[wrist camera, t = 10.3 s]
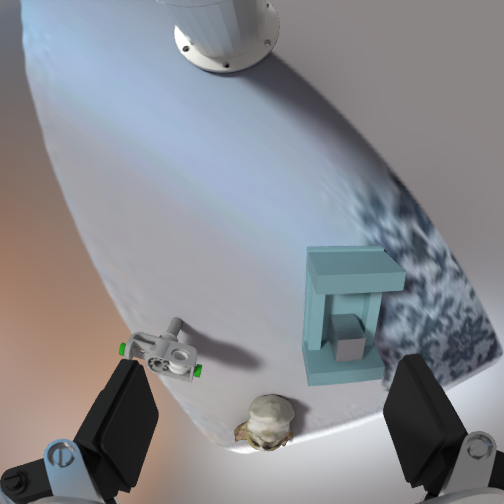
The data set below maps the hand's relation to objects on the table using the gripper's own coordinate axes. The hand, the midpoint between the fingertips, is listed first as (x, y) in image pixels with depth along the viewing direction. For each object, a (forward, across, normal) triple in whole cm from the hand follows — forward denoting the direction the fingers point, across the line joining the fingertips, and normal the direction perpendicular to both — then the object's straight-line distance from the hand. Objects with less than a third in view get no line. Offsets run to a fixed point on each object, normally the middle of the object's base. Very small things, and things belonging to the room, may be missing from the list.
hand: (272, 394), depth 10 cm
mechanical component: (+28, +13, +15) cm, 35 cm away
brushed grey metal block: (+27, -10, +15) cm, 33 cm away
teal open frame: (+28, -10, +12) cm, 32 cm away
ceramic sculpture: (+29, 0, +35) cm, 45 cm away
